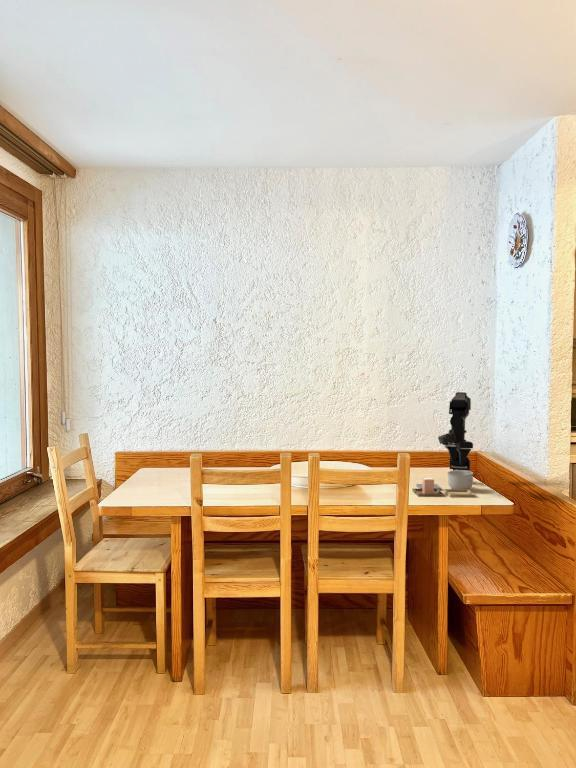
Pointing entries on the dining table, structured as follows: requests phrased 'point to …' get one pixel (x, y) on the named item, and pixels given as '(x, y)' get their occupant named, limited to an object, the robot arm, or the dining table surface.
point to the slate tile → (434, 486)
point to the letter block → (428, 486)
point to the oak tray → (459, 493)
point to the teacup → (460, 479)
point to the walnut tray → (436, 494)
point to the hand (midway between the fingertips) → (457, 463)
